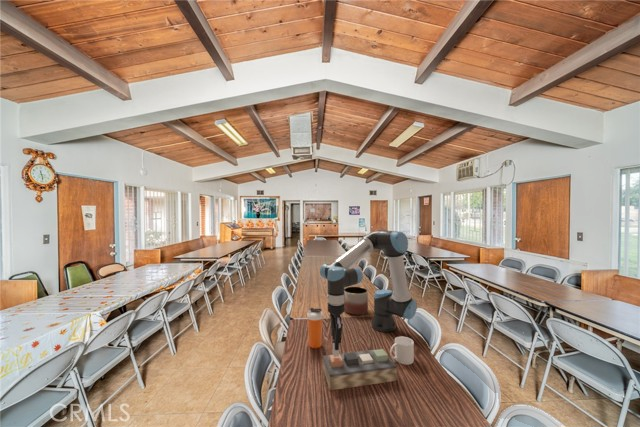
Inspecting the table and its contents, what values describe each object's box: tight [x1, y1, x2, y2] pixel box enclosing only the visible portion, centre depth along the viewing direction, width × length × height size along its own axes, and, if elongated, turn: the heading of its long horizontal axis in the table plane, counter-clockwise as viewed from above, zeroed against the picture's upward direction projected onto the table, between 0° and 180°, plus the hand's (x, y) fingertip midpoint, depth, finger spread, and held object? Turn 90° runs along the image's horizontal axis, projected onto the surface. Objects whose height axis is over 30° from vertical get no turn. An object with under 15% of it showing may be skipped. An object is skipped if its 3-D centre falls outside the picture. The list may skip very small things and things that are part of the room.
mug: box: [389, 335, 415, 366], centre depth 125 cm, size 12×9×9 cm
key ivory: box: [359, 354, 373, 364], centre depth 114 cm, size 5×5×4 cm
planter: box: [344, 286, 369, 316], centre depth 186 cm, size 18×18×16 cm
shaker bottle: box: [306, 307, 324, 349], centre depth 139 cm, size 9×9×20 cm
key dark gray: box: [344, 351, 358, 366], centre depth 112 cm, size 5×5×4 cm
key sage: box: [372, 348, 389, 362], centre depth 115 cm, size 5×5×4 cm
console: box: [322, 348, 398, 391], centre depth 113 cm, size 30×14×6 cm, turn 101°
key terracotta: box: [328, 353, 343, 368], centre depth 111 cm, size 5×5×4 cm
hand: (336, 355), depth 111 cm, fingers closed
